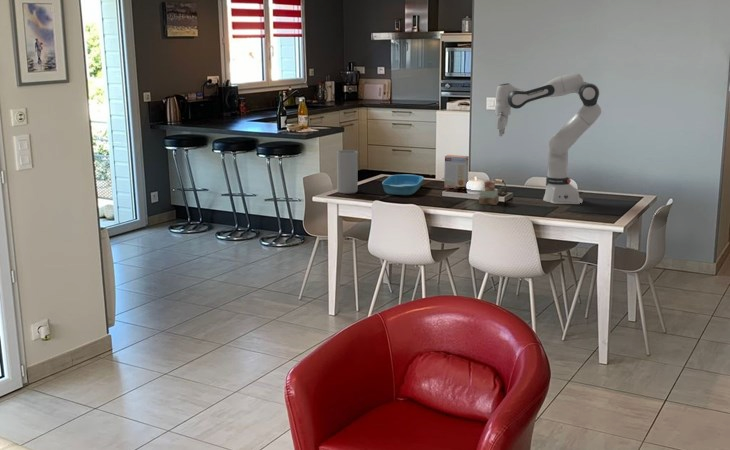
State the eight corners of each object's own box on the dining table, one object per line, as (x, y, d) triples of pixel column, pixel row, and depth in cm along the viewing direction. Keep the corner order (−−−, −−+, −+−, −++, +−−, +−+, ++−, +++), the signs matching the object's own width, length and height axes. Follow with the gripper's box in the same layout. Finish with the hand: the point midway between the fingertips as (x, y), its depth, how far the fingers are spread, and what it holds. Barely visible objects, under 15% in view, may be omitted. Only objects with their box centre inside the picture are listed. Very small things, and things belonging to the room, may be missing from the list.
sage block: (497, 195, 466) (497, 188, 465) (493, 198, 459) (494, 191, 458) (484, 194, 469) (484, 187, 468) (480, 197, 462) (480, 190, 461)
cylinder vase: (360, 193, 490) (360, 152, 484) (340, 194, 486) (340, 153, 480) (353, 189, 502) (353, 149, 495) (334, 190, 498) (334, 150, 491)
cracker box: (468, 188, 503) (469, 155, 498) (465, 190, 498) (466, 157, 493) (446, 186, 509) (447, 154, 504) (443, 188, 503) (444, 155, 498)
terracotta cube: (494, 189, 464) (494, 180, 463) (493, 191, 459) (493, 182, 458) (485, 188, 465) (486, 180, 464) (484, 190, 461) (484, 182, 460)
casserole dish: (414, 197, 478) (414, 186, 477) (378, 195, 484) (378, 184, 482) (426, 186, 513) (426, 175, 511) (392, 184, 519) (392, 173, 517)
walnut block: (498, 202, 468) (498, 195, 467) (496, 205, 459) (496, 198, 458) (481, 201, 471) (481, 194, 470) (478, 204, 462) (478, 197, 461)
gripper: (506, 113, 457) (505, 137, 461) (510, 109, 477) (509, 133, 480) (495, 113, 459) (494, 137, 462) (499, 109, 478) (498, 132, 482)
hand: (501, 135), depth 471 cm, fingers open, 8 cm apart
